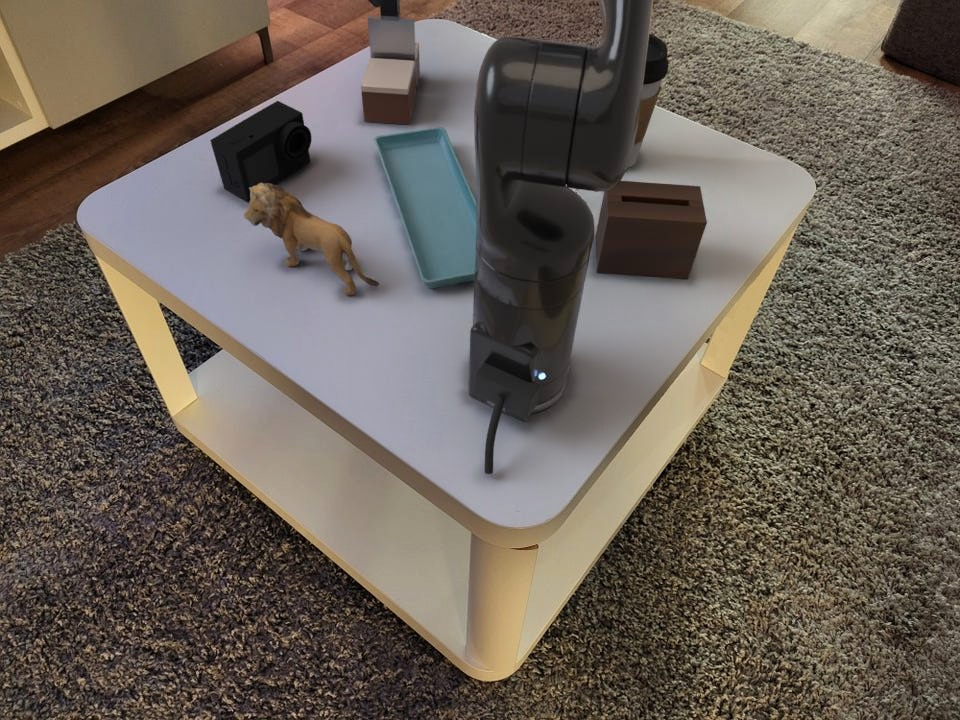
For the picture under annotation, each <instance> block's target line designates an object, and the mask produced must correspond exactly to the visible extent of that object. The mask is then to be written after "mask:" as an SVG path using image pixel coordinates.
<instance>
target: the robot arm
mask: <svg viewBox="0 0 960 720" xmlns="http://www.w3.org/2000/svg"><path fill="white" fill-rule="evenodd" d="M367 1H368V2H369V4H371V5H372V6H373V7H374V8H380V5H381V4H382V3H383V2H384V1H385V0H367ZM598 4H599V12H600V18H601V19H600V20H601V28H602V41H601V44H599V45H588V44H581V43H573V42H564V41H559V40H558V41H557V40H548V39H541V38H532V37H525V36H513V35H512V36H511V35H510V36H502V37H499V38H498V39H496V40H495V41H494V42H493V43H492V44H491V45H490V46H489V48H488V49H487V51H486V53H485V55H484V57H483V59H482V62H481V65H480V69H479V72H478V76H477V82H476V89H475V97H474V98H475V99H474V110H473V111H474V113H473V115H474V117H473V118H474V120H473V122H474V128H473V129H474V135H473V136H474V155H475V157H474V158H475V181H476V182H475V185H476V189H475V190H476V197H475V199H476V249H475V274H474V281H473V304H472V305H473V307H472V308H473V309H472V326H471V328H470V330H469V361H468V362H469V364H468V392H467V393H468V395H469V396H470V397H471V398H474V399H475V400H478V401H480V402H482V403H484V404H486V405H488V406H490V407H491V408H493V409H492V412H491V413H492V414H491V417H490V420H489V425H488V429H487V434H486V440H485V447H484V448H485V449H484V473H485V475H492V474H493V473H494V450H495V441H496V436H497V430H498V426H499V423H500V419H501V415H502V413H505V414H508V415H510V416H512V417H514V418H516V419H518V420H521V421H523V422H526V421H527V420H528V419H529V418H530V416H531V415H533V414H535V413H539V412H541V411H545V410H546V409H548V408H550V407H552V406H553V405H555V404H556V403H557V402H558V401H559V400H560V399H561V397H562V396H563V395H564V393H565V391H566V388H567V385H568V378H569V369H570V364H571V357H572V352H573V346H574V341H575V335H576V331H577V325H578V321H579V315H580V309H581V304H582V299H583V293H584V289H585V288H584V287H585V283H586V279H587V275H588V267H589V262H590V258H591V253H592V247H593V242H594V237H595V219H594V216H593V213H592V210H591V208H590V207H589V205H588V203H587V202H586V201H585V200H584V198H582V197H581V195H579V194H578V193H577V192H576V191H574V190H583V191H589V192H603V193H604V192H605V191H609V190H611V189H613V188H615V187H616V186H617V185H618V184H619V182H620V181H622V179H624V176H625V174H626V172H627V169H628V168H627V167H628V164H629V161H630V157H631V154H632V150H633V146H634V141H635V136H636V131H637V125H638V119H639V113H640V105H641V98H642V90H643V82H644V73H645V65H646V57H647V49H648V41H649V34H650V31H651V25H652V24H651V22H652V14H653V7H654V0H598ZM573 189H574V190H573Z"/></svg>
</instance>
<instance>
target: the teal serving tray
mask: <svg viewBox="0 0 960 720" xmlns="http://www.w3.org/2000/svg"><path fill="white" fill-rule="evenodd" d="M373 142H374V145H375V147H376V151H377V153H378V155H379V158H380V162H381V164H382V167H383V170H384V173H385V175H386V178H387V181H388V183H389V184H388V185H389V187H390V189H391V193H392V196H393V200H394V202H395V206H396V207H397V212H398V214H399V216H400V219H401V222H402V224H403V228H404V231H405V234H406V237H407V240H408V243H409V246H410V250H411V251H412V254H413V258H414V261H415V263H416V266H417V270H418V272H419V276H420V279H421V281H422V283H423V284H424V285H425V286H427V287H428V288H430V289H437V288H441V287H447V286H453V285H457V284H464V283H469V282H474V274H475V249H476V197H475V194H474V192H473V190H472V188H471V185H470V183H469V181H468V178H467V176H466V174H465V171H464V170H463V168H462V165H461V163H460V160H459V159H458V158H459V157H458V155H457V154H456V152H455V149H454V147H453V144H452V141H451V139H450V137H449V135H448V132H447V130H446V128H445V127H442V126H437V127H431V128H424V129H418V130H417V129H416V130H411V131H410V130H409V131H404V132H398V133H397V132H396V133H390V134H382V135H377V136H374V138H373Z"/></svg>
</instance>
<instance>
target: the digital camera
mask: <svg viewBox="0 0 960 720" xmlns="http://www.w3.org/2000/svg"><path fill="white" fill-rule="evenodd" d="M210 145H211V148H212V151H213V155H214V158H215V159H214V160H215V162H216V165H217V168H218V172H219V176H220V179H221V182H222V186H223V189H224V190H225V191H228V192H229V193H231V194H232V195H235V196H236V197H238V198H239V199H242V201H244V202H247V203H249V202H250V200H251V198H250V189H249V188H250V187H253V186H257V185H258V184H260V183H263V184H265V183H270V184H273V185H278V184H279V183H281V182H283V181H284V180H285V179H287V178H289V177H290V176H292V175H293V174H294V173H296V172H298V171H299V170H300V169H302V168H303V167H305V166H306V165H308V164H309V163H310V162H311V156H310V147H311V145H312V132H311V130H310V128H309V127H308V126H307V125H305V120H304V114H303V112H302V111H300V110H298V109H295V108H294V107H291V106H290V105H288V104H285V103H283V102H281V101H280V100H276V101H275V102H273V103H271V104H269V105H267V106H266V107H264V108H262V109H260V110H259V111H257V112H256V113H254V114H252V115H249V116H248V117H246V118H245V119H243V120H242V121H239V122H238V123H237V124H234V125H233V126H231V127H229V128H228V129H227V130H225V131H223V132H221V133H219V134H218V135H216V136H215V137H213V138H211V139H210Z"/></svg>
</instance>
